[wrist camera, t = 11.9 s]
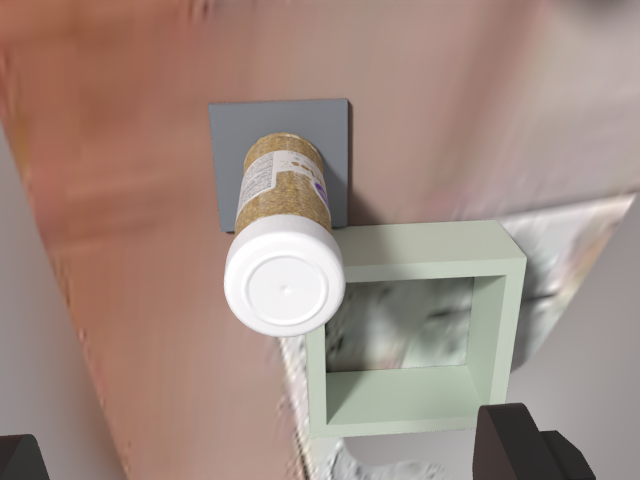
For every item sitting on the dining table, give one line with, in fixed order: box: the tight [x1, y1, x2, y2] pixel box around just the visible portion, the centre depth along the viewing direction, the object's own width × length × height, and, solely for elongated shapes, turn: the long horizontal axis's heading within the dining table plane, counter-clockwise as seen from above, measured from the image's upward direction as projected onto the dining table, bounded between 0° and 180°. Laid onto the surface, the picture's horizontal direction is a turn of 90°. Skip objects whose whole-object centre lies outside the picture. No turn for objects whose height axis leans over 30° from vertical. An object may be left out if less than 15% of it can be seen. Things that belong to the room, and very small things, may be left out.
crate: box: [305, 220, 527, 439], centre depth 37 cm, size 12×12×5 cm
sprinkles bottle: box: [224, 132, 346, 337], centre depth 28 cm, size 5×5×14 cm
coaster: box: [208, 98, 348, 232], centre depth 34 cm, size 8×8×1 cm
